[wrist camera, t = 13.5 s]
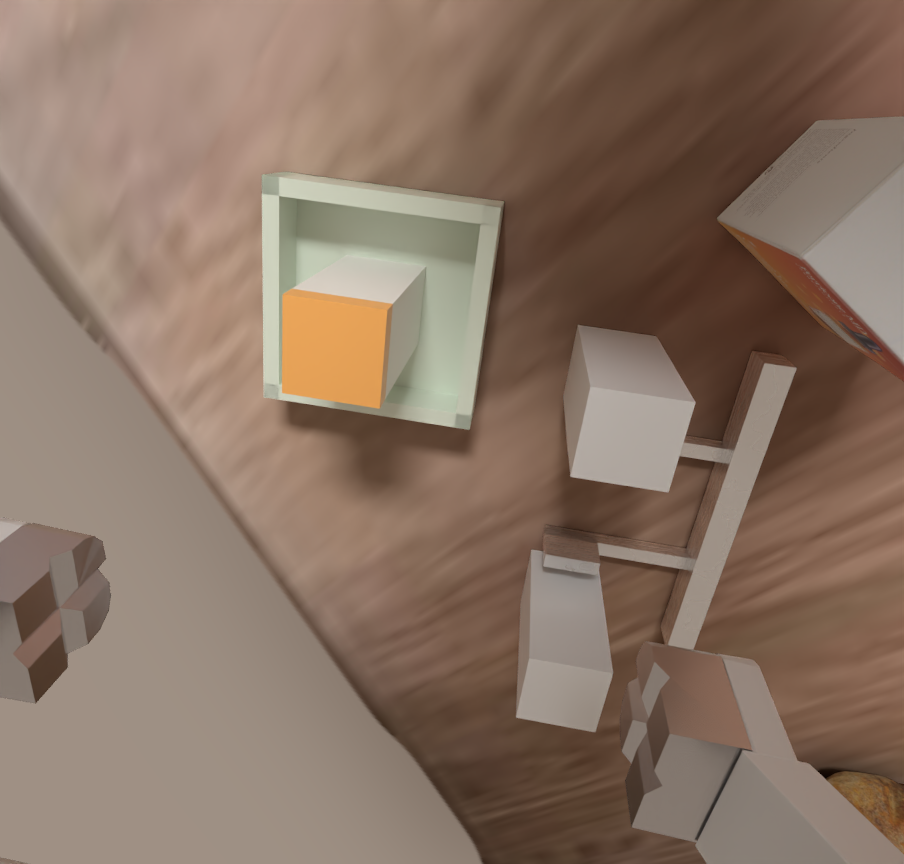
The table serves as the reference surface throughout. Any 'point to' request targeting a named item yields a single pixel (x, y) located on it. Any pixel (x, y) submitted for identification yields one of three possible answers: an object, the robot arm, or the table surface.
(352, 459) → the table surface
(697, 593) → the rail
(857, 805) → the rough brown rock
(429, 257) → the tray
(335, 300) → the block
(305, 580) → the table surface
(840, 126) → the small box
